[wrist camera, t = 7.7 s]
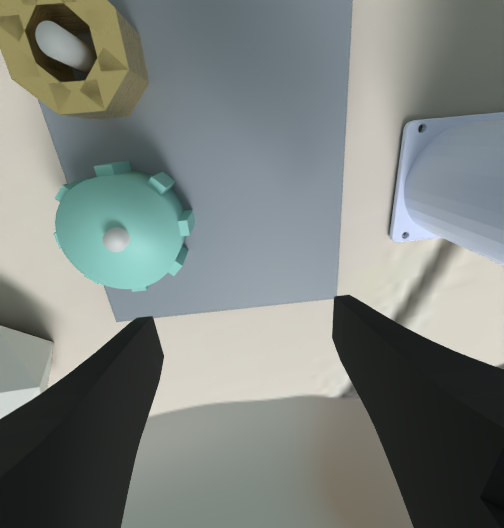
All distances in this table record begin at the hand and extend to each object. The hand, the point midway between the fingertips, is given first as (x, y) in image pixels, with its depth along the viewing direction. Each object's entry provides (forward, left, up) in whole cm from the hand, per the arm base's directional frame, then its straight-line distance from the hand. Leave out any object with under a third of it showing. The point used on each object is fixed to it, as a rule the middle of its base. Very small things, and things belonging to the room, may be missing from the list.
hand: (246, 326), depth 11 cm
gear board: (+2, -5, -10) cm, 11 cm away
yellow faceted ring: (+6, -11, -9) cm, 16 cm away
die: (+19, +7, -10) cm, 23 cm away
